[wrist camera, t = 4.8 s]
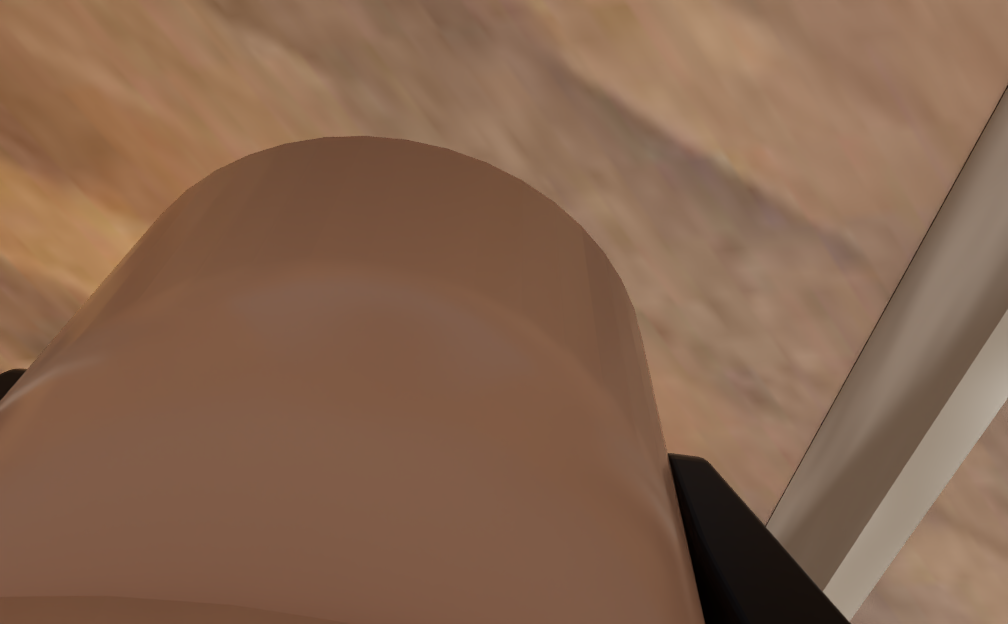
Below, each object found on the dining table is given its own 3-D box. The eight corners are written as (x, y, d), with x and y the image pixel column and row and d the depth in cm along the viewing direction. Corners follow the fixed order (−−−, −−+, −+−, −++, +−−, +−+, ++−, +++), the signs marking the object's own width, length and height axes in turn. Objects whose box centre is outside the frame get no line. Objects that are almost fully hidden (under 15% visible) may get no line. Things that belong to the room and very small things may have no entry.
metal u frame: (1078, 66, 16) (1200, 125, 13) (717, 675, 28) (740, 775, 26) (-206, -202, 14) (-396, -201, 11) (2, 582, 26) (-63, 680, 23)
